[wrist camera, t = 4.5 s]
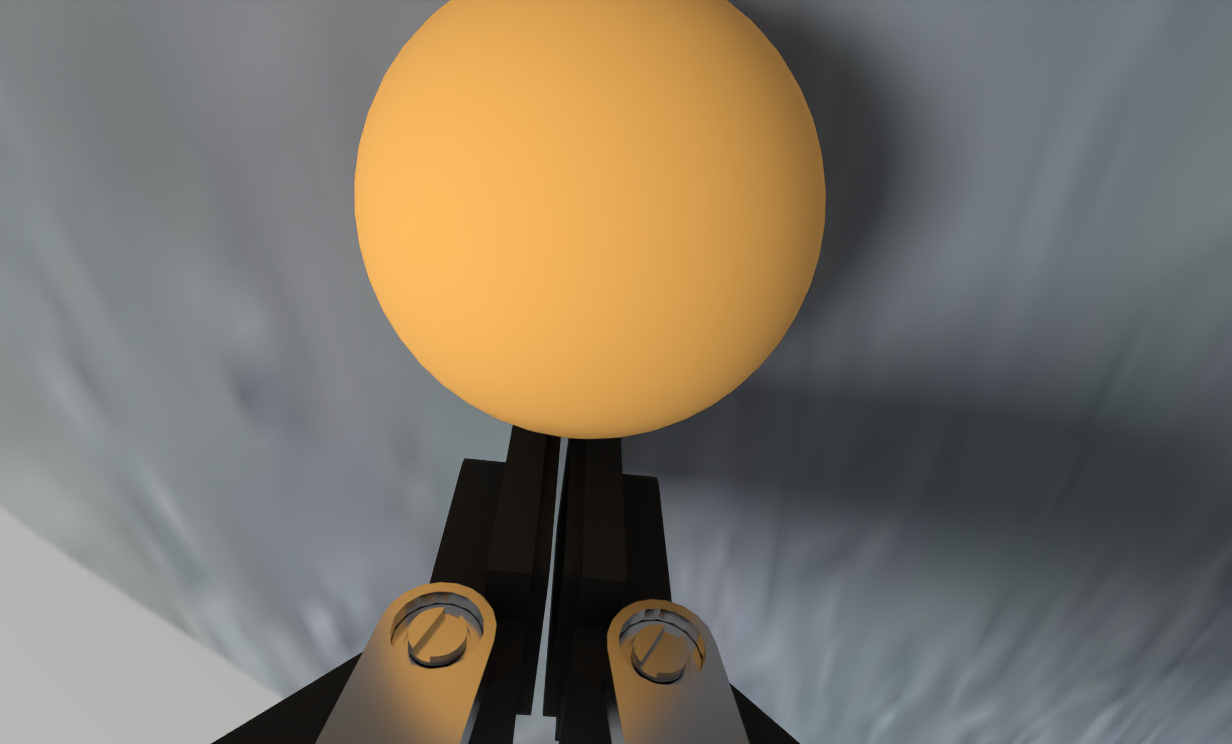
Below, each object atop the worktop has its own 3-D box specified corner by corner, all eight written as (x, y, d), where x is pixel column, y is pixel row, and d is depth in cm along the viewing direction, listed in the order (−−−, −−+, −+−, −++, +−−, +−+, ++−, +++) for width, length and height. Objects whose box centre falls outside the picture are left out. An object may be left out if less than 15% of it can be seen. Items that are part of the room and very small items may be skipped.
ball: (874, 510, 6) (945, -162, 5) (232, 457, 6) (266, -215, 6) (752, 424, 11) (784, 86, 11) (422, 396, 11) (444, 59, 11)
